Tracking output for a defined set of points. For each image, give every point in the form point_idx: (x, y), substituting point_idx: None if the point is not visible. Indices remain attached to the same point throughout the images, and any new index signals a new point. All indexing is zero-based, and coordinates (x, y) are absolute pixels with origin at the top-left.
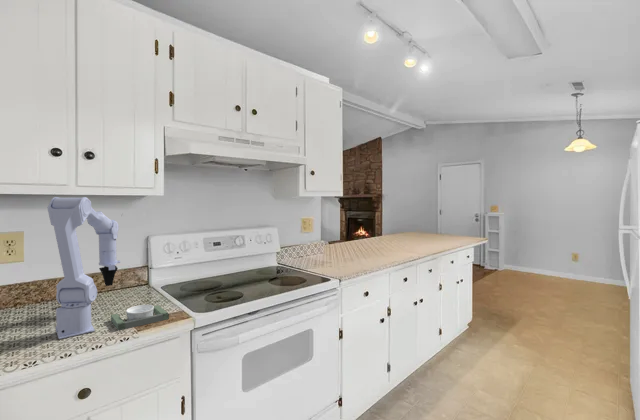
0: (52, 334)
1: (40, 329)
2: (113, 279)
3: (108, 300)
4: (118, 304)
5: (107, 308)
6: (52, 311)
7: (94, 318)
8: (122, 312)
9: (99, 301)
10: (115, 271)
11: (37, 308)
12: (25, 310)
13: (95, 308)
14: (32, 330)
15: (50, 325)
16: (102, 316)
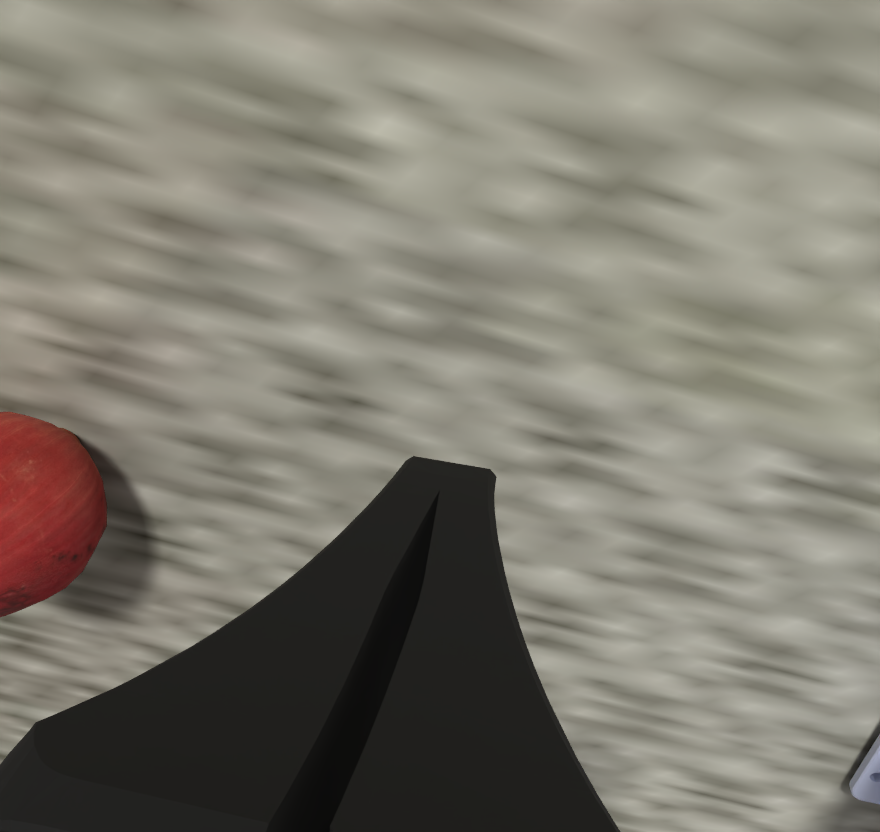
0: (873, 807)
1: (644, 802)
2: (500, 557)
3: (32, 143)
4: (350, 98)
5: (448, 283)
6: (173, 634)
7: (753, 509)
8: (851, 198)
9: (26, 250)
10: (599, 807)
11: (9, 662)
12: (26, 713)
13: (335, 380)
14: (617, 825)
15: (601, 749)
16: (763, 434)
